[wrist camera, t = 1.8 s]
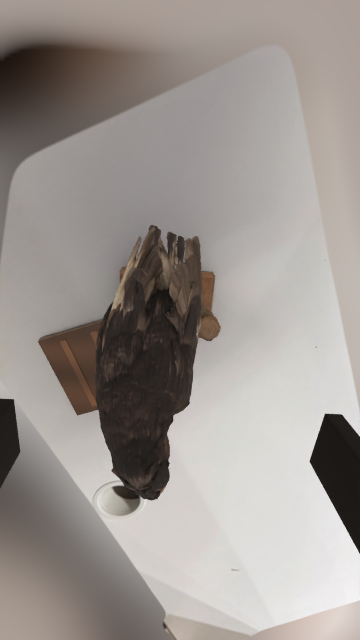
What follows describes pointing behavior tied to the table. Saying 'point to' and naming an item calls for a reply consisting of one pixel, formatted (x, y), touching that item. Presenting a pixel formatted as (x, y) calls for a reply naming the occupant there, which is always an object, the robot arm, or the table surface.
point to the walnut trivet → (75, 363)
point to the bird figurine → (151, 355)
